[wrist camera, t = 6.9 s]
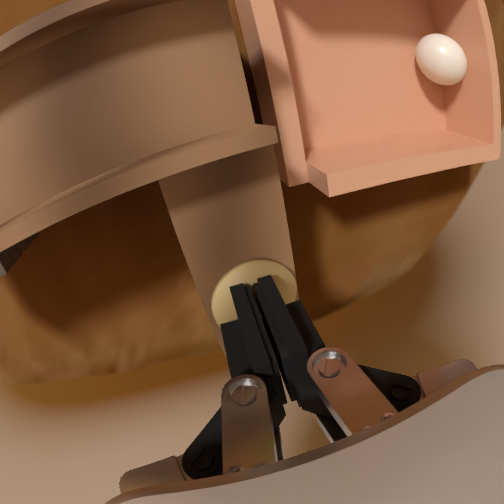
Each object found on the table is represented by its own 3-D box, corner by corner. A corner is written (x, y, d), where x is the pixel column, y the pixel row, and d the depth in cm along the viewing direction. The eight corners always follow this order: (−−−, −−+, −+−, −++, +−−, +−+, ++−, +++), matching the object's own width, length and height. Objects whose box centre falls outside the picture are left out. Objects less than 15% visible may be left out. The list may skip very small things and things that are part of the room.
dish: (426, -12, 11) (477, -20, 7) (448, 140, 17) (499, 158, 13) (226, -29, 10) (246, -73, 5) (272, 172, 16) (306, 203, 12)
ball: (416, 36, 13) (463, 38, 11) (424, 82, 15) (470, 87, 12) (405, 29, 11) (461, 31, 9) (414, 83, 13) (469, 89, 11)
